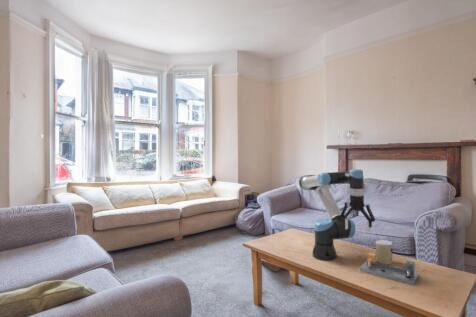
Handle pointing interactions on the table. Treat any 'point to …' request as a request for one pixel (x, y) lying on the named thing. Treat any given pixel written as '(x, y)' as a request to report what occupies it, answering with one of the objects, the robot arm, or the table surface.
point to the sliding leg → (371, 258)
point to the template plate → (392, 271)
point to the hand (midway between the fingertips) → (357, 230)
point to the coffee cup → (384, 251)
